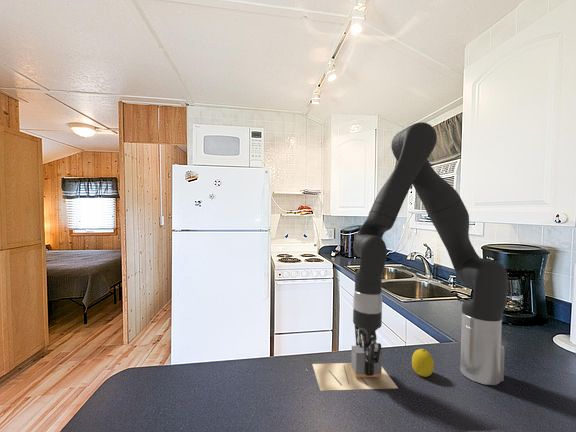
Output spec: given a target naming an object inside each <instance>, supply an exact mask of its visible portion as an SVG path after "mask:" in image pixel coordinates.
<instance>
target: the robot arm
mask: <svg viewBox="0 0 576 432" xmlns="http://www.w3.org/2000/svg"><path fill="white" fill-rule="evenodd" d="M437 139H438V138H437V133H436V130H435V128H434V127H433V125H431V124H430V123H427V122H424V121H423V122H422V121H421V122H416V123H413V124H411V125H409V126H407V127H405V128H404V129H402V130H401V131H398V132H397V133H396V134H395V135H394V136H393V138H392V141H391V145H390V146H391V151H392V154H393V157H394V158H395V159H396V161H397V163H396V165H395V167H394V169H393V171H392V172H391V174H390V175H389V177H388V178H387V179H386V181H385V183H384V184H383V186H382V187H381V188H380V190H379V191H378V193H377V195H376V197H375V199H374V201H373V204H372V206H371V208H370V211H369V214H368V216H367V218H366V220H365V221H364V222H363V224H362V225H361V227H360V229H359V230H358V231H357V233H356V235H355V237H354V239H353V244H352V249H353V252H354V254H355V255H356V256H357V257H358V258H360V262H359V263H360V264H359V269H357V270H356V271H355V275H354V293H353V305H352V306H353V309H352V322H353V324H354V333H355V336H354V337H355V346H362V350H363V351H364V353H365V374H366V376H372V375H373V374H374V363H378V361H379V356H380V351H381V352H382V344H381V343H380V342H379V343H378V342H377V339H378V338H377V333H376V332H377V330H379V329H380V328H381V327H382V324H383V323H382V319H383V317H382V316H383V297H382V284H383V283H382V281H383V280H382V277H383V273H384V270H385V266H386V261H387V256H388V254H387V253H388V251H387V245H386V242H385V241H384V239H382V238H383V236H384V234H385V233H386V232H388V231H389V230H391V229H392V228H393V226H394V224H395V221H396V220H397V218H398V216H399V213H400V211H401V208H402V206H403V203H404V202H405V200H406V197H407V195H408V193H409V191H410V189H411V187H412V186H413V187H414V190H415V192H416V194H417V196H418V198H419V199H420V202H421V203H422V205H423V208H424V210H425V211H426V214H427V215H428V217H429V219H430V221H431V223H432V225H433V227H434V228H435V229H436V230H435V231H436V232H437V233H438V235H439V238H440V240H441V241H442V243H443V245H444V247H445V249H446V251H447V253H448V256H449V258H450V261H451V264H452V267H453V269H454V271H455V275H456V276H457V278H458V280H459V282H461V283H462V285H463V286H465V287H467V288H470V289H472V290H473V294H472V295H473V296H472V299H470V300H469V299H468V300H465V301H463V302H462V305H461V330H460V333H461V335H460V337H461V339H460V367H459V369H460V370H459V371H460V373H461V374H462V375H463V376H465V377H466V378H467V379H469V380H471V381H473V382H476V383H479V384H482V385H487V386H497V385H499V384H500V383H501V382H504V377H505V374H504V373H505V371H504V370H505V346H504V345H502V322H503V321H502V320H503V319H502V317H503V313H504V311H505V309H506V307H507V306H506V305H507V298H508V297H507V295H508V286H509V285H508V283H509V275H508V271H507V270H506V268H505V266H504V265H503V264H502V263H500V262H498V261H496V260H492V259H487V258H482V257H480V256H479V255H478V253H477V252H476V250H475V248H474V247H473V245H472V243H471V240H470V235H469V233H470V231H469V230H470V215H469V212H468V210H467V207H466V206H465V204H464V201H463V200H462V198H461V196H460V194H459V193H458V192H457V190H456V189H455V188H454V187H453V186H452V185H451V183H449V182H448V181H446V180H445V179H444V178H443V177H441V176H440V174H438V173H437V172H436V171H435V170H434V168H433V166H432V165H431V163H430V162H429V160H428V159H429V158H430V155H431V154H432V152H433V151H434V149H435V147H436V145H437V142H438V141H437ZM366 347H369V348H366Z"/></svg>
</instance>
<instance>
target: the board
mask: <svg viewBox="0 0 576 432" xmlns="http://www.w3.org/2000/svg"><path fill="white" fill-rule="evenodd" d="M312 368H313V371H314V375H315V377H316V381H317V385H318V387H319V388H318V389H319V391H320V392H321V391H322V392H325V391H327V392H328V391H329V392H330V391H354V390H355V391H358V390H378V389H379V390H381V389H382V390H386V389H387V390H388V389H399V387H398V386H397V385H396V383H395V382H394V381H393V379H392V378H391V377H390V375H389V374H388V373H387V371H386V370H385V369H384V367H383V366H382V372H381V377H355V375H354V373H353V371H352V369H351V362H339V363H337V362H336V363H332V362H331V363H312Z"/></svg>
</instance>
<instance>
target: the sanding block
mask: <svg viewBox="0 0 576 432" xmlns="http://www.w3.org/2000/svg"><path fill="white" fill-rule="evenodd" d="M366 348H369V347H366ZM350 358H351V362H350V363H351V369H352V371H353V373H354V375H355V377H381V372H382V367H383V366H382V365H383V364H382V363H383V362H382V361H383V360H382V359H383V353H382V350H381V351H380V356H379V361H378V363H374V374H373V375H372V376H366V374H365V353H364V351H363V350H362V346H356V345H351V357H350Z"/></svg>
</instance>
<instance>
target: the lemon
mask: <svg viewBox="0 0 576 432" xmlns="http://www.w3.org/2000/svg"><path fill="white" fill-rule="evenodd" d="M434 363H435V361H434V358H433V356H432V355H431V353H429V351H427V350H426V349H425V348H419V349H416V350H415V351H414V352H413V354H412V356H411V366H412V369H413V371H414V372H415V373H416V374H417V375H418V376H419V377H422V378H427V377H429V376H431V375H432V374H433V372H434V367H435V366H434V365H435V364H434Z"/></svg>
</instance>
